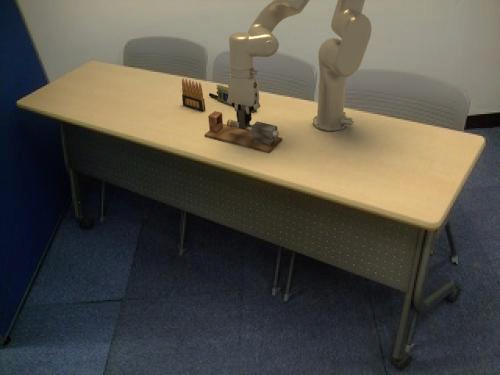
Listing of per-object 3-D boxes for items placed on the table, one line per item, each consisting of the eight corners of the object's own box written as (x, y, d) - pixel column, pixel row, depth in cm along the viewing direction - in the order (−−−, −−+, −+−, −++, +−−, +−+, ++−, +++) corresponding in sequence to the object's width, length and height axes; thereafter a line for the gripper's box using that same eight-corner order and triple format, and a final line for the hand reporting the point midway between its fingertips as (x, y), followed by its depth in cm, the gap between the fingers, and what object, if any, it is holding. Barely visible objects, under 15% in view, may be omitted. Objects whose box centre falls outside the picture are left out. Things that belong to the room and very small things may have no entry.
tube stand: (282, 140, 170) (282, 122, 166) (269, 153, 163) (269, 135, 159) (219, 125, 181) (217, 107, 177) (204, 136, 174) (203, 119, 170)
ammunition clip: (205, 110, 192) (203, 82, 185) (202, 112, 191) (200, 83, 184) (185, 104, 197) (182, 76, 190) (182, 105, 196) (179, 78, 189)
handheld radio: (252, 114, 188) (206, 98, 201) (257, 111, 190) (212, 96, 203) (252, 98, 184) (206, 83, 198) (258, 96, 186) (211, 81, 200)
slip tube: (279, 135, 166) (279, 113, 161) (275, 140, 163) (275, 118, 158) (231, 123, 174) (230, 103, 169) (226, 128, 171) (224, 107, 166)
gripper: (269, 71, 156) (269, 121, 167) (227, 64, 163) (230, 112, 174) (258, 79, 151) (259, 131, 162) (215, 71, 158) (219, 121, 168)
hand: (244, 121), depth 168 cm, fingers closed on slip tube, 2 cm apart
